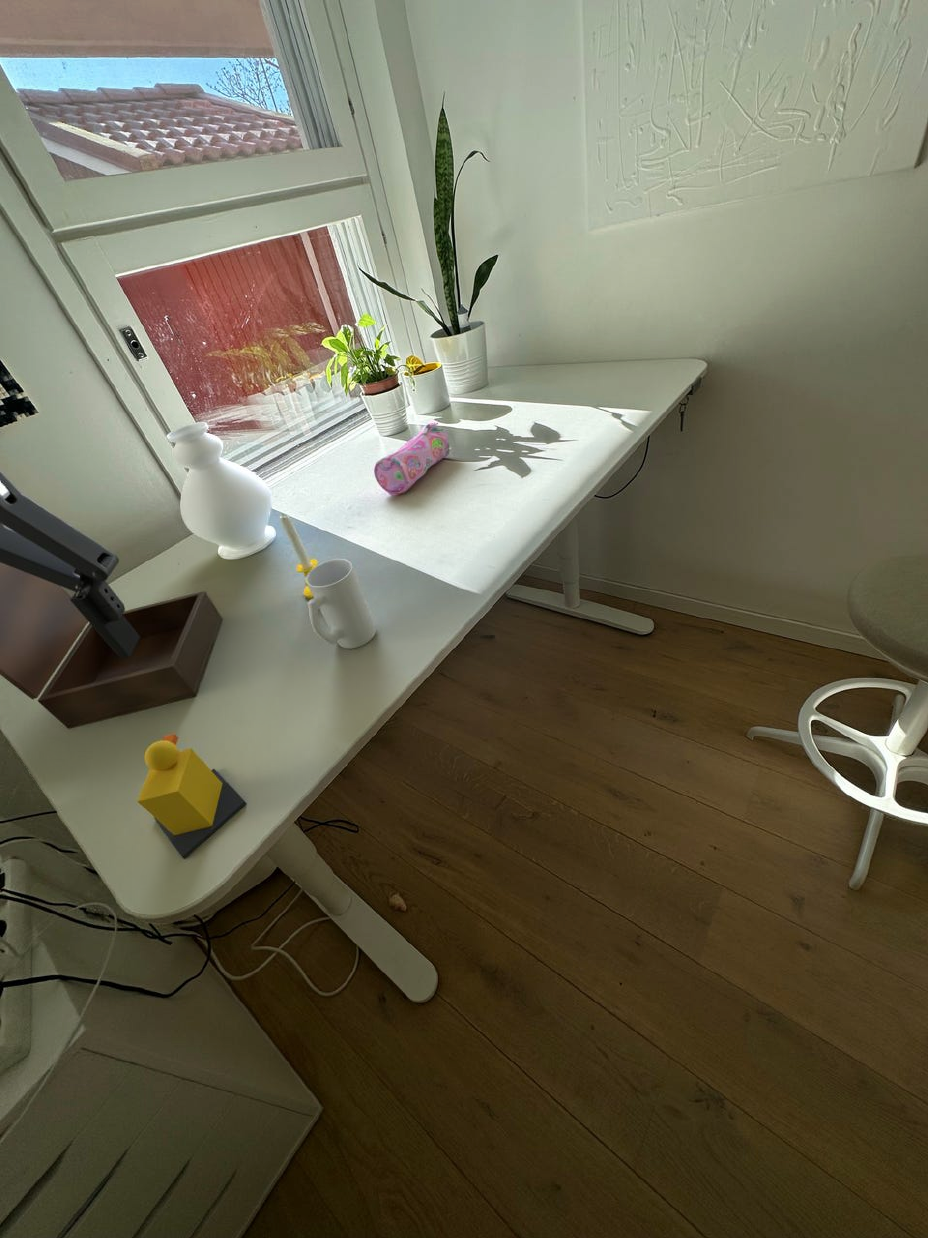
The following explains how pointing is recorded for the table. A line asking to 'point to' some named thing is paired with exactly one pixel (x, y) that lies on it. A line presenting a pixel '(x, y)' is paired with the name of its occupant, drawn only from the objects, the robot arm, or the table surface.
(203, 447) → the decorative vase
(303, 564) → the candle
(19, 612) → the lid
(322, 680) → the table surface
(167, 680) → the chest
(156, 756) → the duck
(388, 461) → the pencil case
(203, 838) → the coaster
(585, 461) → the table surface
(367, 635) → the mug
